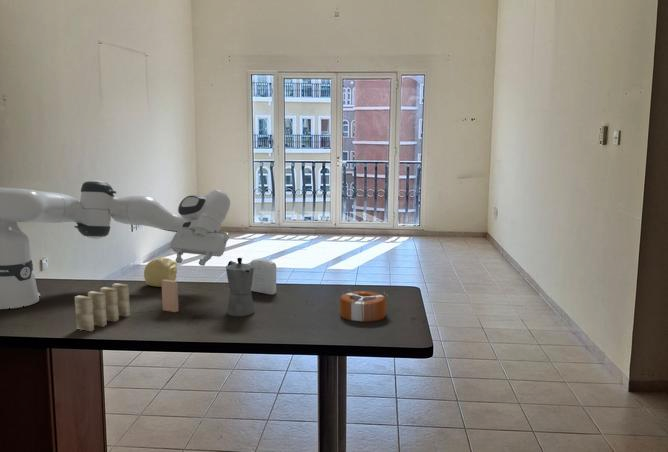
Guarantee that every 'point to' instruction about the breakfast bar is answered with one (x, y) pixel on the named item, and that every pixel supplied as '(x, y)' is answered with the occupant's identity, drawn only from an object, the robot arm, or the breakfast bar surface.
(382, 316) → the coil
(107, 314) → the domino
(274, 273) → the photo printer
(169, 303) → the domino
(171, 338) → the breakfast bar surface
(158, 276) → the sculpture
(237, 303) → the coffeepot
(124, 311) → the domino
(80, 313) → the domino
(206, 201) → the robot arm
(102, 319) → the domino
